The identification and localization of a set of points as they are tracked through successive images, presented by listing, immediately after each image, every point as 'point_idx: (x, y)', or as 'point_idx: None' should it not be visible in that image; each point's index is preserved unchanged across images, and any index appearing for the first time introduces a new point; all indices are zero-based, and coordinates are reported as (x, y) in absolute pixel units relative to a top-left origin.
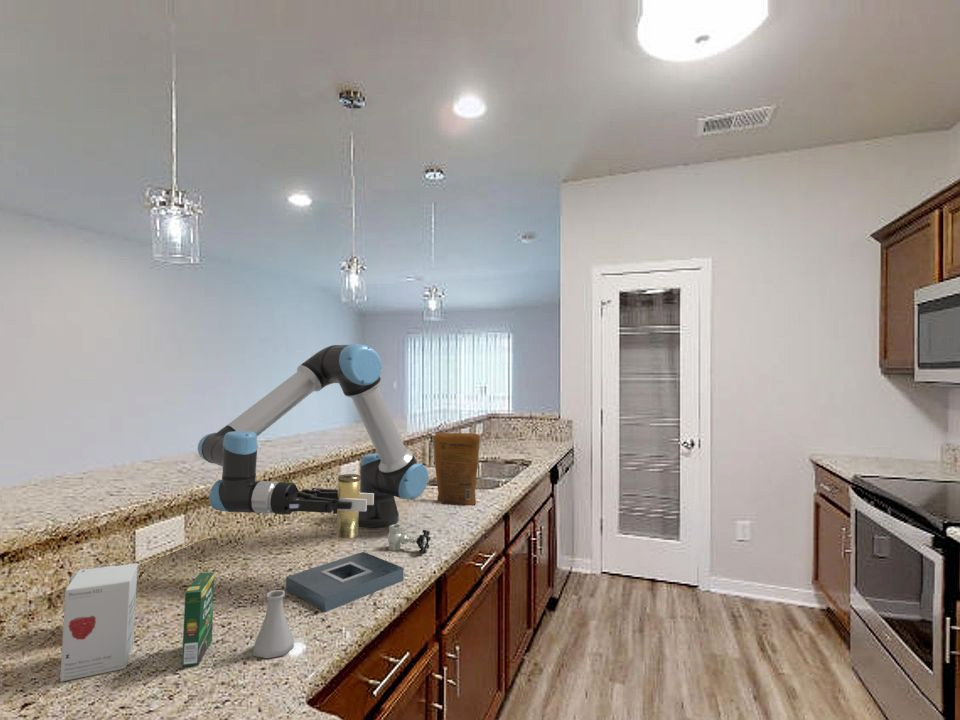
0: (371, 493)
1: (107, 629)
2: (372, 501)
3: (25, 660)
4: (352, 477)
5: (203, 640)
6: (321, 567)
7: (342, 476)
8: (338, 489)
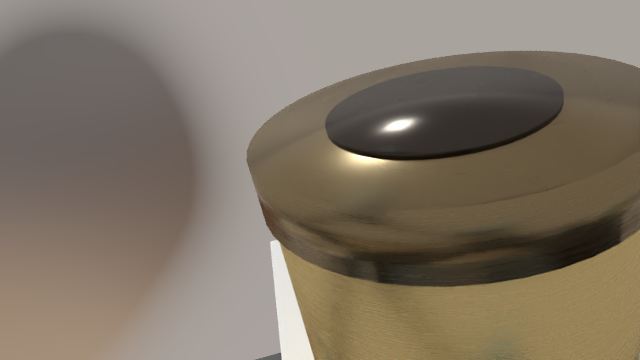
0: (280, 250)
1: None
2: None
3: None
4: (480, 68)
5: None
6: None
7: (539, 134)
8: (633, 349)
